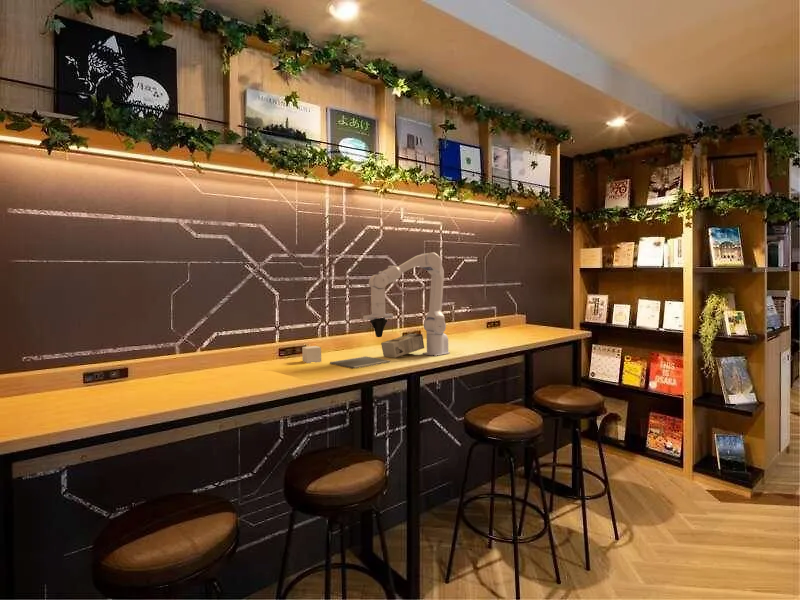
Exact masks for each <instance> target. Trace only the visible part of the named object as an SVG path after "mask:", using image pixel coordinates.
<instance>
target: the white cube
mask: <svg viewBox="0 0 800 600" xmlns="http://www.w3.org/2000/svg"><path fill="white" fill-rule="evenodd" d="M301 348H302V349H301V352H302V354H301V355H302V357H301V358H302V359H301V360H302V362H303V361H304V362H303V363H305V362H306V364H312V363H311V362H315V363H322V347H321V346H318V345H309V346H302V347H301Z"/></svg>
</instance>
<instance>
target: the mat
mask: <svg viewBox="0 0 800 600" xmlns="http://www.w3.org/2000/svg"><path fill="white" fill-rule="evenodd" d="M387 362H389V363H392V362H391V360H389V359H382V358H377V357H371V356H360V357H353V358H347V359H341V360H333V361H330V362H329V365H334V364H336V365H335V366H339V365H340V366H339V367H344V366H345V368H348V367H350V368H349V369H353V368H356V369H360V368H359V367H361V368H366V367H365V366H367V367H372V366H377V365H376V364H378V365H382V364H381V363H384V364H388V363H387ZM371 365H372V366H371Z"/></svg>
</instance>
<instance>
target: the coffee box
mask: <svg viewBox="0 0 800 600" xmlns="http://www.w3.org/2000/svg"><path fill="white" fill-rule="evenodd" d="M380 345H381V350H382V354H383V355H382V356H383V357H384V356H385V358H386V357H387V358H394V359H395V358H399V357H402V356H405V355H408V354H410V353H414V352H417V351H420V350H422V349H425V345H424V336H423V334H419V333H407V334H404V335H401V336H398V337H395V338H393V339H392V338H391V339H389V340H386V341H383V342H381V344H380Z"/></svg>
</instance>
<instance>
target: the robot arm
mask: <svg viewBox="0 0 800 600" xmlns="http://www.w3.org/2000/svg"><path fill="white" fill-rule="evenodd" d="M415 267H419V268H421V269H423V270H425V271H427V273H428V274H429V275H430V277H431V278H430V293H429V307H428V308H429V309H428V312H427V313H426V315H425V320H424V322H423V329H424V330H425V332H426V352H425V351H424V352H422V355H427V356H433V355H434V357H437V355H438V356H442V355H446V354H447V355H448V354H451V351H449V337H448V335H447V334H446V333H444V332H445V331H446V328H447V325H446V320H445V319H446V318H445V315H444V313H443V312H442V311H443V310H442V309H443V297H444V295H443V294H444V293H443V292H444V280H445V271H444V267H443V264H442V257H441V256H440V255H439V254H438V253H436V252H434V251H433V252H427V253H426V252H425V253H420V254H418V255H415V256H413V257H412V258H409V259H408V260H407V261H405V262H403V263H401V264H400V265H398V266H396V265H388V266H387V268H385V269H384V270H382V271H381V270H380V271H378V272H377V273H378V274H373V275H371V277H370V278H369V281H368V285H369V287H370V297H371V302H370V304H371V306H370V307H371V313H370V314H368V315H367V314H366V315H363V317H362V318H363V319H362V320H363V321H365V322H367V321H368V322H370V324H371V326H372V327H373V331H374V333H375V336H376V338H382V337H383V333H384V329H385V328H386V327H385V326H386V324H387V322H388V319H394V313H386V287H387V285H389V284H391V283H392V282H394V281H396V280H398V279H400V278H401V276H402V274H403V273H405V272H407V271H409V270H411V269H412V268H415Z"/></svg>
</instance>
